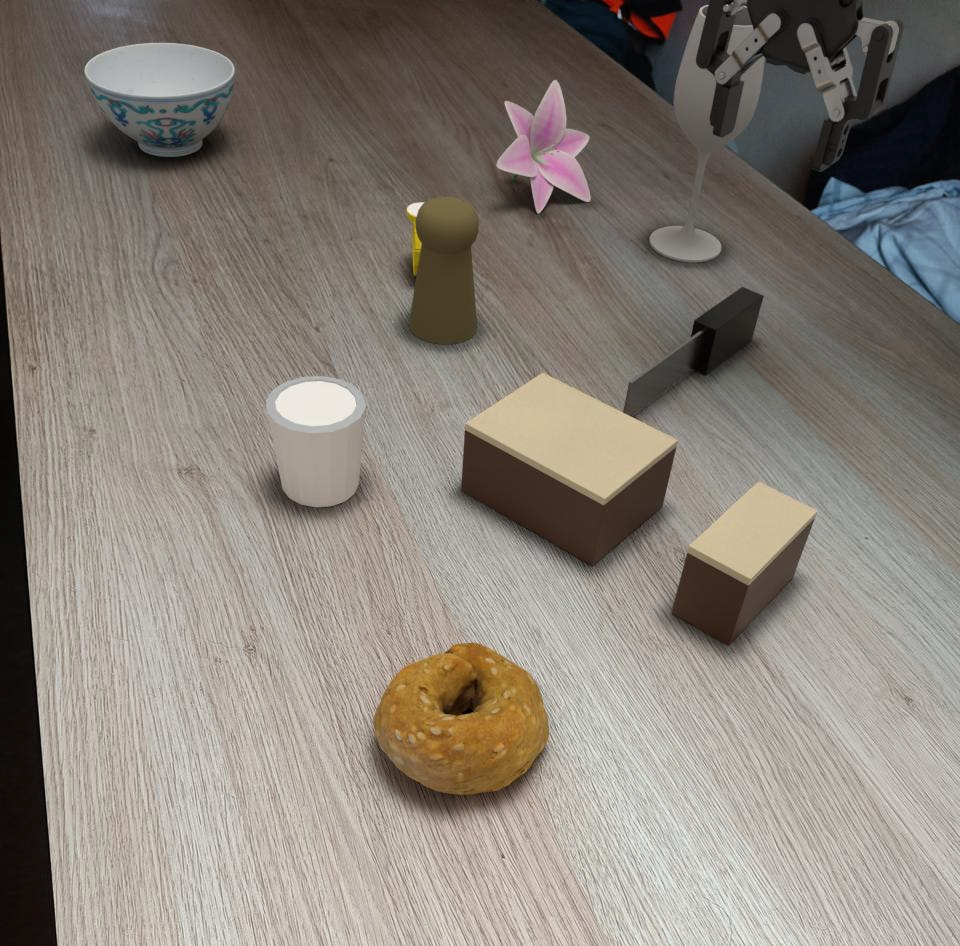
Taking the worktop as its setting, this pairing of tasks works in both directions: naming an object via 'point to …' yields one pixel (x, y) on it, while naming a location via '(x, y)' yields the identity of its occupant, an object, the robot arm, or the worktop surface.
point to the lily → (546, 149)
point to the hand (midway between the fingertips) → (770, 150)
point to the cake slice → (742, 562)
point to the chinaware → (162, 93)
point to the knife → (699, 348)
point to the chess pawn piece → (445, 272)
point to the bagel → (462, 720)
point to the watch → (414, 234)
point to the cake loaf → (567, 466)
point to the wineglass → (705, 134)
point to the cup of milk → (317, 438)
